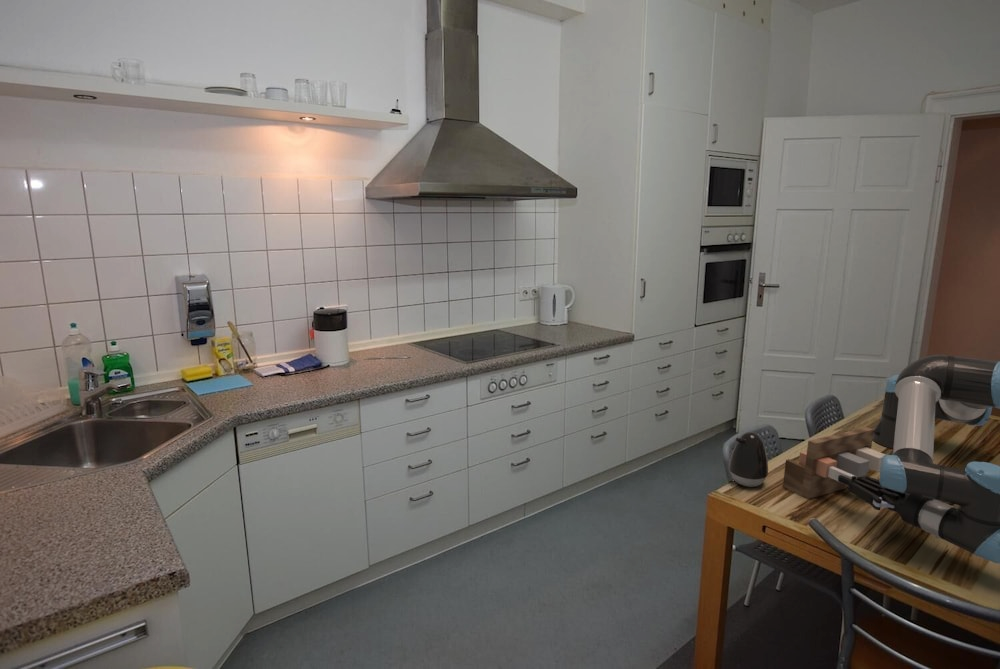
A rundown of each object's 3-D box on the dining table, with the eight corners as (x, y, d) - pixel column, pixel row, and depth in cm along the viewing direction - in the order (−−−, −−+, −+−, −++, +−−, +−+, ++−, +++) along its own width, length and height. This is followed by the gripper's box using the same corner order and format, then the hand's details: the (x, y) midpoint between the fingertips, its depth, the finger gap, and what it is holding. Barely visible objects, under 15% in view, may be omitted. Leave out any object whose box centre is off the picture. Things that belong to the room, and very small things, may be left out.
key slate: (839, 462, 159) (841, 449, 158) (867, 474, 151) (869, 460, 151) (829, 465, 157) (831, 452, 156) (857, 477, 150) (859, 463, 149)
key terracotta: (808, 463, 158) (810, 449, 158) (835, 475, 151) (837, 461, 150) (798, 465, 157) (800, 452, 156) (825, 477, 150) (826, 463, 149)
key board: (839, 470, 169) (846, 420, 166) (866, 482, 162) (873, 429, 159) (782, 486, 160) (788, 433, 156) (808, 499, 153) (815, 443, 149)
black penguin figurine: (719, 478, 165) (723, 428, 162) (747, 472, 168) (752, 424, 165) (745, 494, 155) (750, 442, 152) (774, 487, 159) (780, 436, 156)
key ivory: (858, 457, 162) (859, 444, 161) (886, 469, 155) (888, 455, 154) (848, 460, 160) (850, 447, 159) (877, 472, 153) (879, 458, 152)
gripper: (907, 535, 127) (811, 489, 148) (941, 522, 132) (844, 479, 153) (912, 505, 125) (815, 462, 146) (947, 493, 131) (848, 453, 152)
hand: (830, 471), depth 150 cm, fingers closed
